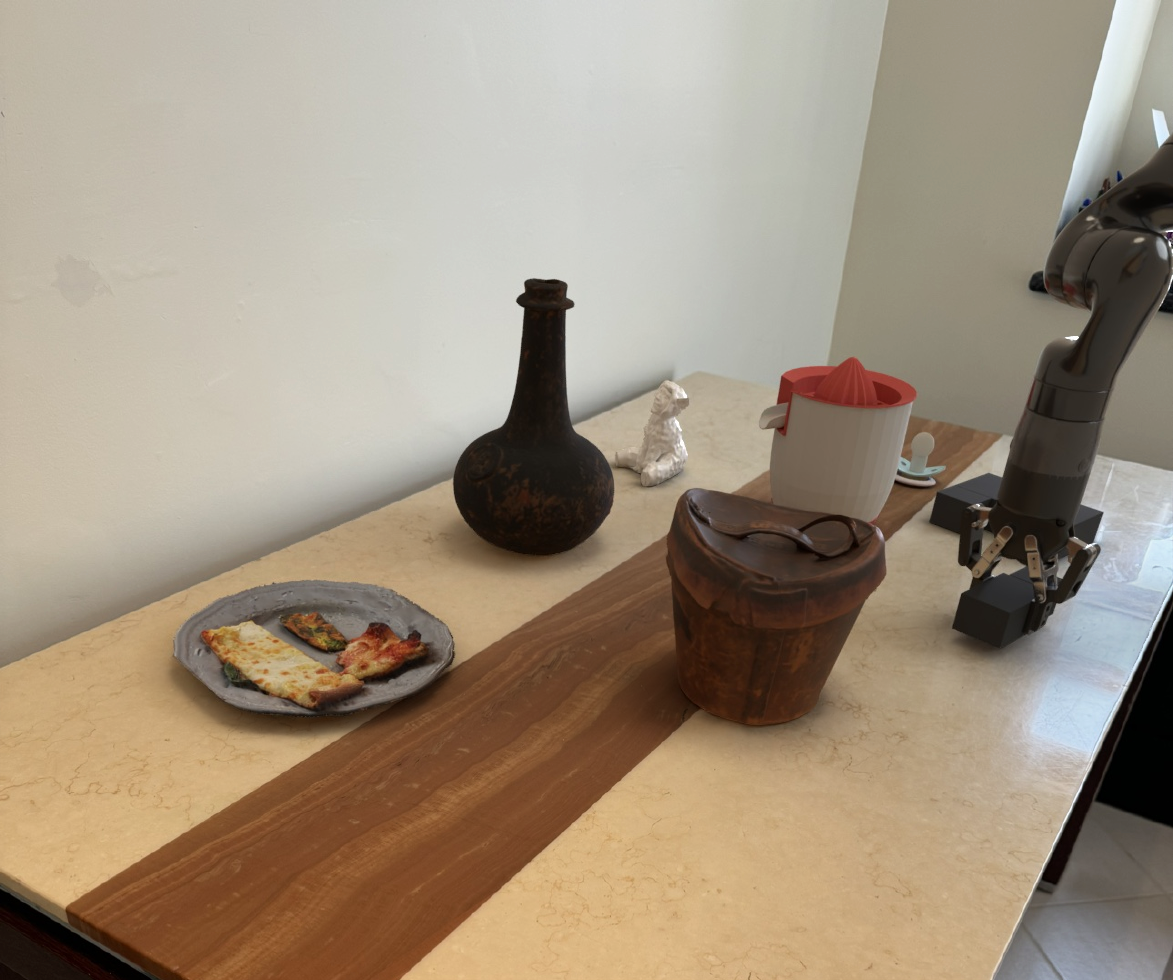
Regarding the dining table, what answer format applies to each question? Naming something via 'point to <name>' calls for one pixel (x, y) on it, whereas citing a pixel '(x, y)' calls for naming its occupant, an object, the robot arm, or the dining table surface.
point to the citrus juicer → (837, 438)
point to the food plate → (314, 648)
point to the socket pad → (985, 492)
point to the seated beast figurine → (659, 439)
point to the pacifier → (918, 463)
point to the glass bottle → (536, 449)
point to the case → (764, 601)
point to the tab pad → (997, 608)
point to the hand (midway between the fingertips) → (1002, 620)
